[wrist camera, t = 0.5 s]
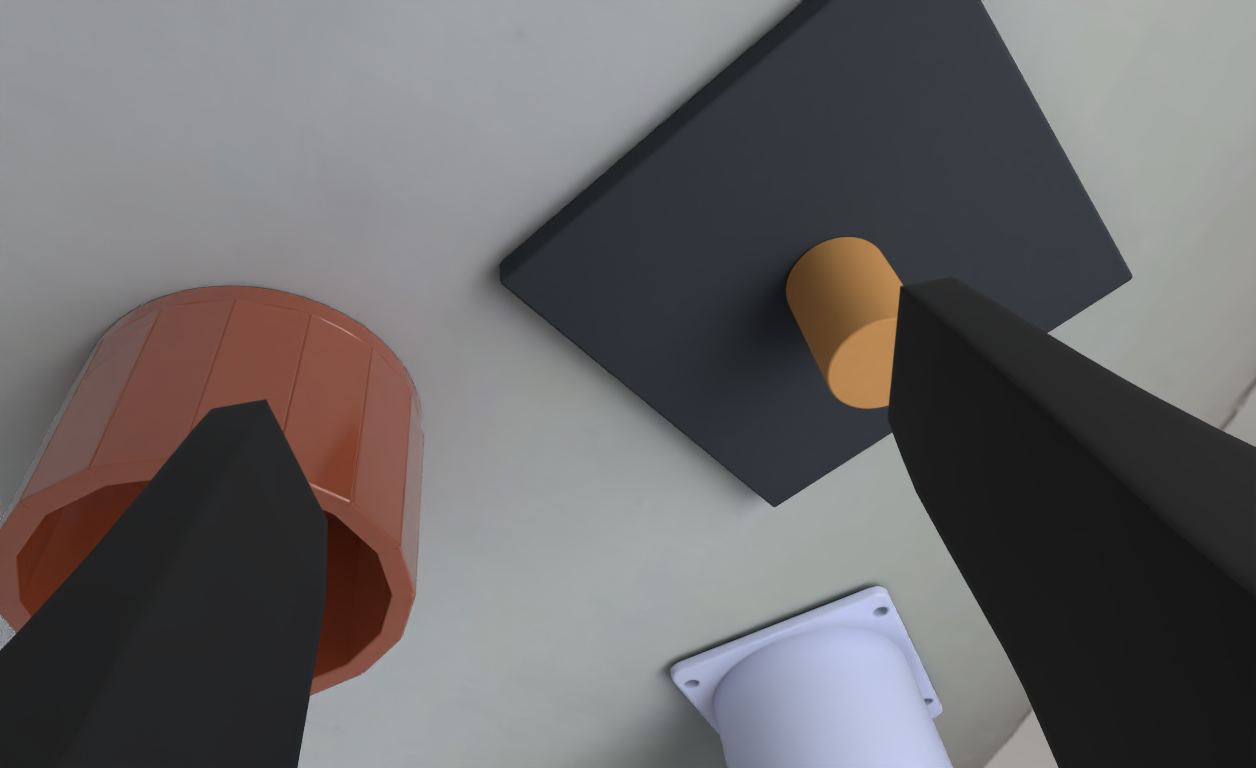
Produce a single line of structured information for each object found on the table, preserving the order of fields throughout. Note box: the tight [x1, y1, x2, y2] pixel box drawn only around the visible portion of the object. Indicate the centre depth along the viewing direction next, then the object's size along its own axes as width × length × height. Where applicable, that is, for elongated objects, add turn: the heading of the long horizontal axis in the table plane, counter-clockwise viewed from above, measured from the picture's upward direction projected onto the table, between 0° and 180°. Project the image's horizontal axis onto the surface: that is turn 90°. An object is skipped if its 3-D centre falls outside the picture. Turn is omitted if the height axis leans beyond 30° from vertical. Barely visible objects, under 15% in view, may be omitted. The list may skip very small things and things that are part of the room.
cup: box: [0, 286, 424, 696], centre depth 20 cm, size 8×8×6 cm
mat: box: [499, 0, 1132, 507], centre depth 20 cm, size 11×11×4 cm
